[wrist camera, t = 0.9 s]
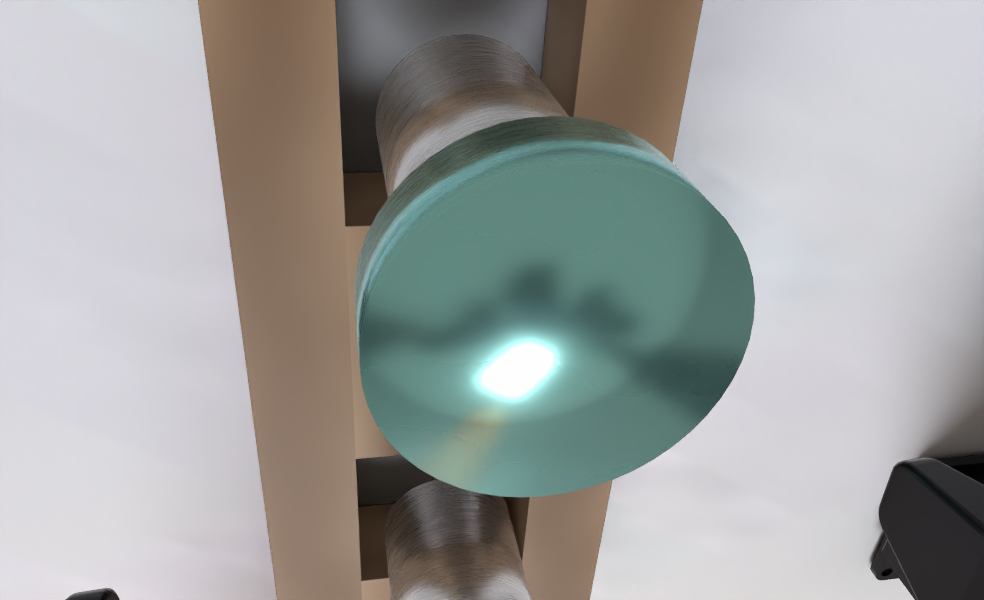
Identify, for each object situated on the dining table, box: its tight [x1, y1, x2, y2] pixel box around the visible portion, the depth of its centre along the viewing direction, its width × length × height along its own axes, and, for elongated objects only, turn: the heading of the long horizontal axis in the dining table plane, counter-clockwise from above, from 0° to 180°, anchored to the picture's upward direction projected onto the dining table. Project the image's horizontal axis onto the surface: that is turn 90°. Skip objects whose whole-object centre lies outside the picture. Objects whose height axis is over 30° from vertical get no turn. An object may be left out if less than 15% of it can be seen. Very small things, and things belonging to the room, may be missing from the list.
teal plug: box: [354, 34, 755, 497], centre depth 13 cm, size 5×5×8 cm
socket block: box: [198, 0, 703, 600], centre depth 21 cm, size 10×26×3 cm, turn 176°
